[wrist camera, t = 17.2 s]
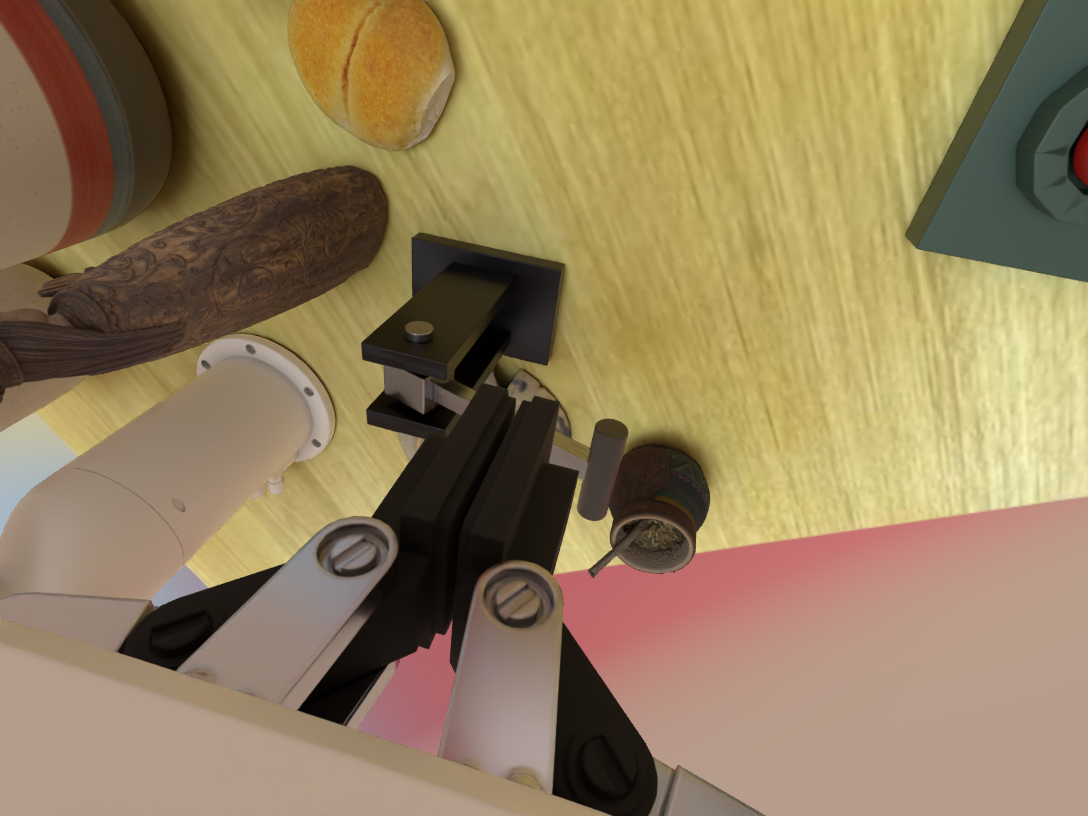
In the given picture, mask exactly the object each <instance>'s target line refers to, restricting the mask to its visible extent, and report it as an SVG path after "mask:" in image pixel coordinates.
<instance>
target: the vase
mask: <svg viewBox="0 0 1088 816" xmlns="http://www.w3.org/2000/svg"><path fill="white" fill-rule="evenodd" d="M171 158H172V131H171V123H170V117H169V112H168V108H167V104H166V100H165V97H164V94H163V90H162V88H161V85H160V82H159V80H158V77H157V75H156V73H155V70H154V68H153V66H152V64H151V62H150V60H149V58H148V56H147V54H146V52H145V50H144V49H143V47H142V45H141V44H140V42H139V40H138V39H137V37H136V35H135V34H134V32H133V31H132V29H131V28H130V26H129V25H128V23H127V22H126V21H125V19H124V18H123V17H122V15H121V14H120V13H119V11H118V10H117V9H116V8H115V6H114V5H113V4H112V3H111V2H110V1H109V0H0V270H2V269H5V268H8V267H11V266H13V265H16V264H19V263H22V262H25V261H28V260H31V259H34V258H37V257H40V256H43V255H46V254H49V253H52V252H55V251H57V250H60V249H63V248H66V247H69V246H72V245H75V244H78V243H80V242H83V241H86V240H89V239H92V238H94V237H97V236H100V235H102V234H105V233H107V232H110V231H112V230H114V229H117V228H119V227H121V226H122V225H124V224H126V223H128V222H130V221H131V220H133V219H134V218H135V217H137V216H138V215H139V214H140V213H141V212H143V211H144V210H145V209H146V208H147V207H148V206H149V205H150V204H151V202H152V201H153V200H154V199H155V198H156V196H157V195H158V193H159V192H160V190H161V189H162V187H163V185H164V183H165V180H166V177H167V175H168V172H169V168H170V164H171Z"/></svg>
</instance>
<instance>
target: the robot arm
mask: <svg viewBox="0 0 1088 816" xmlns="http://www.w3.org/2000/svg"><path fill="white" fill-rule="evenodd" d="M196 375H197V377H196V378H195V379H193V380H192V381H190V382H189V383H187V384H186V385H184V386H183V387H181V388H180V389H178V390H177V391H175V392H174V393H172V394H171V395H170V396H168V397H167V398H165V399H164V400H162V401H161V402H159V403H158V404H156V405H155V406H153V407H152V408H150V409H149V410H147V411H146V412H144V413H143V414H141V415H140V416H138V417H137V418H135V419H134V420H132V421H131V422H129V423H128V424H126V425H125V426H123V427H122V428H120V429H119V430H117V431H116V432H114V433H113V434H112V435H110V436H109V437H107V438H106V439H104V440H103V441H101V442H100V443H98V444H97V445H95V446H94V447H92V448H91V449H89V450H88V451H86V452H85V453H83V454H82V455H80V456H79V457H77V458H76V459H74V460H73V461H71V462H70V463H69V464H67V465H66V466H64V467H62V468H61V469H60V470H58V471H57V472H55V473H54V474H52V475H51V476H49V477H48V478H46V479H45V480H43V481H42V482H41V483H39V484H38V485H37V486H35V487H34V488H33V489H31V490H30V491H29V492H28V493H27V494H26V495H25V496H24V497H23V498H22V499H21V500H20V502H19V503H18V504H17V506H16V507H15V509H14V510H13V511H12V513H11V515H10V517H9V519H8V521H7V523H6V525H5V527H4V530H3V533H2V535H1V538H0V816H765V815H764V814H762V813H760V812H758V811H757V810H755V809H753V808H752V807H749V806H748V805H746V804H745V803H743V802H741V801H740V800H738V799H736V798H734V797H733V796H731V795H729V794H727V793H726V792H724V791H722V790H721V789H719V788H717V787H715V786H714V785H712V784H710V783H708V782H707V781H705V780H703V779H702V778H700V777H698V776H697V775H694V774H693V773H691V772H690V771H688V770H686V769H685V768H683V767H681V766H679V765H678V766H677V768H676V769H675V770H674V769H673V768H671V767H669V766H667V765H666V764H664V763H662V762H660V761H659V760H657V759H656V758H654V757H652V755H651V753H650V751H649V749H648V747H647V745H646V743H645V742H644V740H643V739H642V737H641V736H640V734H639V733H638V731H637V730H636V728H635V727H634V726H633V724H632V723H631V721H630V720H629V718H628V717H627V715H626V714H625V713H624V711H623V709H622V708H621V707H620V705H619V703H618V702H617V700H616V699H615V698H614V696H613V695H612V693H611V692H610V690H609V689H608V687H607V686H606V684H605V683H604V681H603V680H602V678H601V677H600V676H599V674H598V673H597V671H596V670H595V668H594V667H593V665H592V664H591V662H590V661H589V659H588V658H587V656H586V655H585V654H584V652H583V651H582V649H581V648H580V646H579V645H578V644H577V642H576V640H575V639H574V637H573V636H572V635H571V633H570V632H569V630H568V629H567V627H566V626H565V624H564V623H563V604H564V603H563V595H562V590H561V588H560V586H559V584H558V582H557V580H556V579H555V578H554V577H553V573H554V569H555V566H556V562H557V558H558V555H559V551H560V547H561V544H562V540H563V536H564V533H565V529H566V525H567V521H568V517H569V513H570V509H571V505H572V501H573V497H574V492H575V488H576V484H577V479H578V475H579V471H578V470H574V469H570V468H567V467H563V466H559V465H555V464H551V463H549V461H550V455H551V450H552V445H553V439H554V434H555V428H556V423H557V418H558V412H559V407H560V402H559V401H555V400H551V399H547V398H543V397H539V396H534V397H533V399H532V401H531V402H530V401H526V400H523V401H522V403H521V405H520V407H519V409H518V411H517V413H516V415H515V409H516V398H514V397H510V396H509V390H508V389H506V388H502V387H498V386H494V385H490V384H486V383H482V384H481V385H480V387H479V388H478V390H477V392H476V393H475V395H474V396H473V398H472V399H471V401H470V403H469V404H468V406H467V407H466V409H465V411H464V412H463V414H462V415H461V417H460V418H459V420H458V422H457V423H456V425H455V426H454V428H453V430H452V431H451V433H450V434H449V436H448V437H447V436H443V435H439V434H435V433H431V434H429V435H428V436H427V437H426V438H425V440H424V441H423V443H422V444H421V446H420V447H419V449H418V450H417V452H416V453H415V454H414V456H413V457H412V459H411V460H410V462H409V463H408V465H407V466H406V468H405V469H404V471H403V472H402V473H401V475H400V476H399V478H398V479H397V481H396V482H395V484H394V485H393V487H392V488H391V490H390V491H389V492H388V494H387V495H386V497H385V498H384V500H383V501H382V503H381V504H380V506H379V507H378V508H377V510H376V511H375V513H374V514H373V516H372V517H371V518H370V517H359V516H354V517H348V518H343V519H339V520H337V521H335V522H333V523H330V524H328V525H327V526H325V527H324V528H323V529H321V530H320V531H319V532H317V533H316V534H315V535H314V536H313V537H312V538H311V539H310V540H309V541H308V542H307V543H306V544H305V545H304V546H303V547H302V548H301V549H300V550H299V551H298V552H297V553H296V554H295V555H294V556H293V557H292V558H291V559H290V560H289V561H288V562H287V563H285V564H282V565H279V566H276V567H273V568H270V569H267V570H263V571H260V572H257V573H254V574H251V575H248V576H245V577H242V578H239V579H236V580H233V581H230V582H227V583H224V584H220V585H217V586H214V587H211V588H208V589H205V590H202V591H199V592H196V593H193V594H190V595H187V596H184V597H181V598H178V599H175V600H173V601H171V602H168V603H167V604H164V605H162V606H160V607H156V606H153V604H152V602H151V600H150V599H151V598H152V597H153V596H154V595H155V594H156V593H157V592H158V591H159V590H160V589H161V588H162V587H163V586H164V585H165V584H166V583H167V582H168V581H169V580H170V578H172V577H173V576H174V575H175V574H176V573H177V572H178V571H179V570H180V569H181V568H182V567H183V566H184V565H185V564H186V563H187V562H188V561H189V560H190V559H191V558H192V557H193V556H194V555H195V554H196V553H197V552H198V551H199V550H200V549H201V548H202V547H203V546H204V545H205V544H206V543H207V542H208V541H209V540H210V539H211V538H212V537H213V536H214V534H215V533H216V532H217V531H218V530H219V529H220V528H221V527H222V526H223V525H224V524H225V523H226V522H227V521H228V520H229V519H230V518H231V517H232V516H233V515H234V514H235V513H236V512H237V511H238V510H239V509H240V508H241V507H242V506H243V505H244V504H245V503H246V502H247V501H248V500H249V499H255V498H258V497H261V496H262V495H264V494H265V492H266V486H265V483H266V482H268V487H269V491H270V493H272V494H280V493H282V492H283V491H284V490H285V483H284V478H283V476H282V473H283V472H284V471H285V470H286V469H287V468H288V467H289V466H290V465H291V464H292V463H293V462H301V461H305V460H309V459H311V458H313V457H315V456H317V455H318V454H319V453H320V452H322V451H323V450H324V449H325V448H326V446H327V445H328V444H329V443H330V441H331V439H332V437H333V434H334V431H335V415H334V409H333V406H332V403H331V400H330V398H329V396H328V394H327V392H326V390H325V388H324V386H323V385H322V383H321V382H320V381H319V379H318V378H317V376H316V375H315V374H314V373H313V372H312V371H311V370H310V368H309V367H308V366H307V365H306V364H305V363H304V362H302V361H301V360H300V359H299V358H298V357H296V356H295V355H294V354H293V353H291V352H290V351H288V350H287V349H285V348H283V347H282V346H280V345H278V344H276V343H274V342H272V341H270V340H268V339H265V338H262V337H258V336H255V335H249V334H230V335H226V336H224V337H221V338H218V339H217V340H215V341H214V342H212V343H211V344H209V345H208V346H207V347H206V348H205V349H204V350H203V351H202V352H201V354H200V356H199V358H198V361H197V367H196ZM514 416H515V417H514ZM452 619H453V624H452V637H451V651H450V664H451V666H452V668H453V670H454V672H455V679H454V683H453V688H452V692H451V697H450V701H449V706H448V710H447V715H446V720H445V725H444V729H443V733H442V738H441V742H440V747H439V751H438V756H434V755H431V754H428V753H425V752H422V751H419V750H416V749H413V748H410V747H407V746H404V745H401V744H398V743H395V742H392V741H388V740H386V739H382V738H379V737H376V736H373V735H370V734H367V733H364V732H361V731H358V730H357V728H358V727H359V726H360V724H361V723H362V721H363V720H364V718H365V717H366V715H367V714H368V712H369V710H370V709H371V708H372V706H373V705H374V703H375V702H376V700H377V699H378V697H379V696H380V694H381V692H382V691H383V690H384V688H385V687H386V685H387V683H388V682H389V680H390V679H391V677H392V676H393V674H394V673H395V671H396V669H397V667H398V664H399V662H400V659H401V658H403V657H405V656H407V655H410V654H412V653H414V652H416V651H417V648H418V646H420V647H423V648H427V649H429V648H430V645H431V643H432V641H433V639H434V636H435V634H436V633H438V634H442V635H445V634H446V632H447V630H448V628H449V626H450V623H451V621H452Z"/></svg>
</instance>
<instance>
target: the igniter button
mask: <svg viewBox="0 0 1088 816" xmlns="http://www.w3.org/2000/svg"><path fill="white" fill-rule="evenodd" d="M1073 167H1074V171H1075V173H1076V175H1077V177H1078V178H1079V180H1080V181H1082V182H1083V183H1084V184H1086V185H1087V186H1088V128H1087V129H1086V130H1085V131H1084V133H1083V134H1082V136H1081V137H1080V139H1079V141H1078V143H1077V145H1076V148H1075V151H1074V156H1073Z"/></svg>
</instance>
